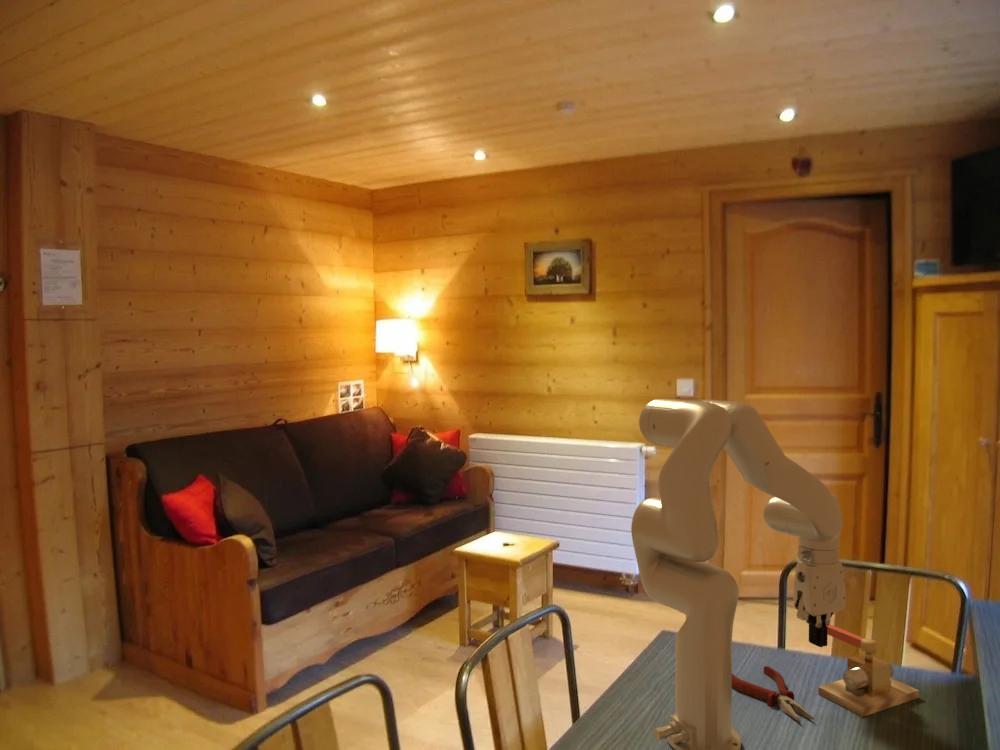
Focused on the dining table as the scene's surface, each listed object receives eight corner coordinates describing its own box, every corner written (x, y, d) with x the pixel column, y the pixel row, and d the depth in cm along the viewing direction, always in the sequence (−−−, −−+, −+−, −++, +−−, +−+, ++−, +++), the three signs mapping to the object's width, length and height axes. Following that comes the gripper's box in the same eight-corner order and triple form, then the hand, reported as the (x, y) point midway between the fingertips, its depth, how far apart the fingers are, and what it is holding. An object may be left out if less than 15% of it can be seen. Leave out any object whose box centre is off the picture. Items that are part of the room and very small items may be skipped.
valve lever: (880, 651, 144) (880, 642, 144) (870, 654, 143) (870, 645, 143) (826, 629, 155) (826, 621, 155) (817, 632, 154) (817, 623, 154)
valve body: (863, 700, 140) (864, 662, 140) (838, 687, 145) (838, 651, 145) (898, 688, 145) (898, 651, 144) (872, 677, 150) (873, 641, 149)
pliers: (779, 730, 134) (779, 716, 133) (720, 681, 153) (720, 669, 153) (833, 722, 136) (834, 709, 136) (769, 675, 156) (769, 663, 156)
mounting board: (862, 716, 137) (862, 709, 137) (818, 694, 146) (818, 686, 146) (918, 697, 144) (918, 690, 144) (873, 676, 153) (873, 669, 153)
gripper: (807, 564, 141) (806, 658, 142) (860, 553, 147) (859, 643, 148) (776, 554, 148) (776, 644, 148) (829, 544, 154) (828, 630, 155)
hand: (817, 644), depth 148 cm, fingers closed
